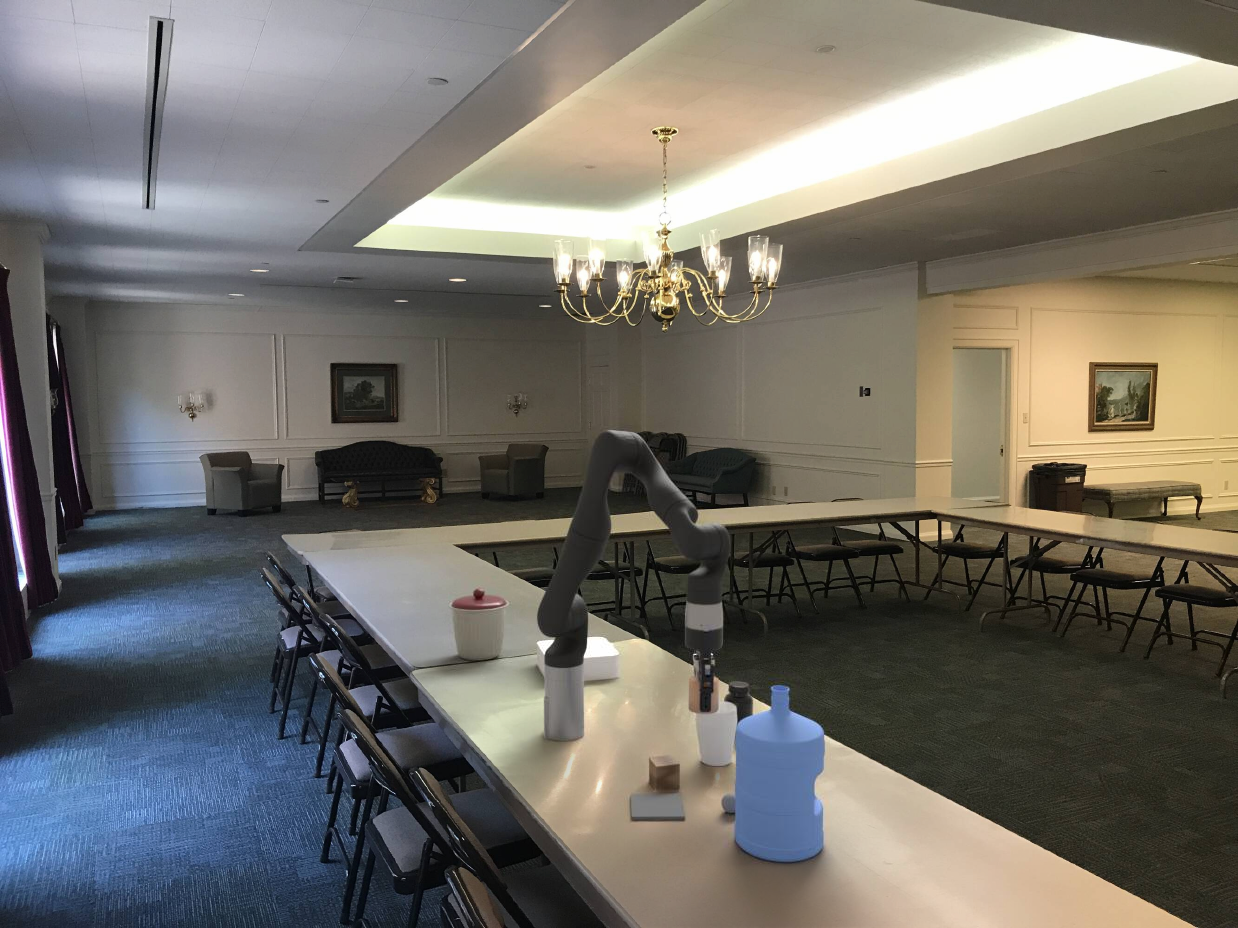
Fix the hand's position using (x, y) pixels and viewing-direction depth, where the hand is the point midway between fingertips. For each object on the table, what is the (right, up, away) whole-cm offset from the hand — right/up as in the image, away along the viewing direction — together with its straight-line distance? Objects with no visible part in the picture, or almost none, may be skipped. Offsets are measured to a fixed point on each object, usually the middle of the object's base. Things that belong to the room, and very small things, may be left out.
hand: (703, 705), depth 183 cm
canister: (-60, -11, +98) cm, 115 cm away
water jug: (+12, -19, -21) cm, 30 cm away
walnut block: (-8, -17, +4) cm, 19 cm away
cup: (+4, -17, +16) cm, 24 cm away
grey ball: (+4, -18, -9) cm, 21 cm away
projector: (-29, -12, +83) cm, 89 cm away
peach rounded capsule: (0, -1, 0) cm, 1 cm away
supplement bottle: (+11, -15, +32) cm, 37 cm away
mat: (-10, -18, -7) cm, 21 cm away
